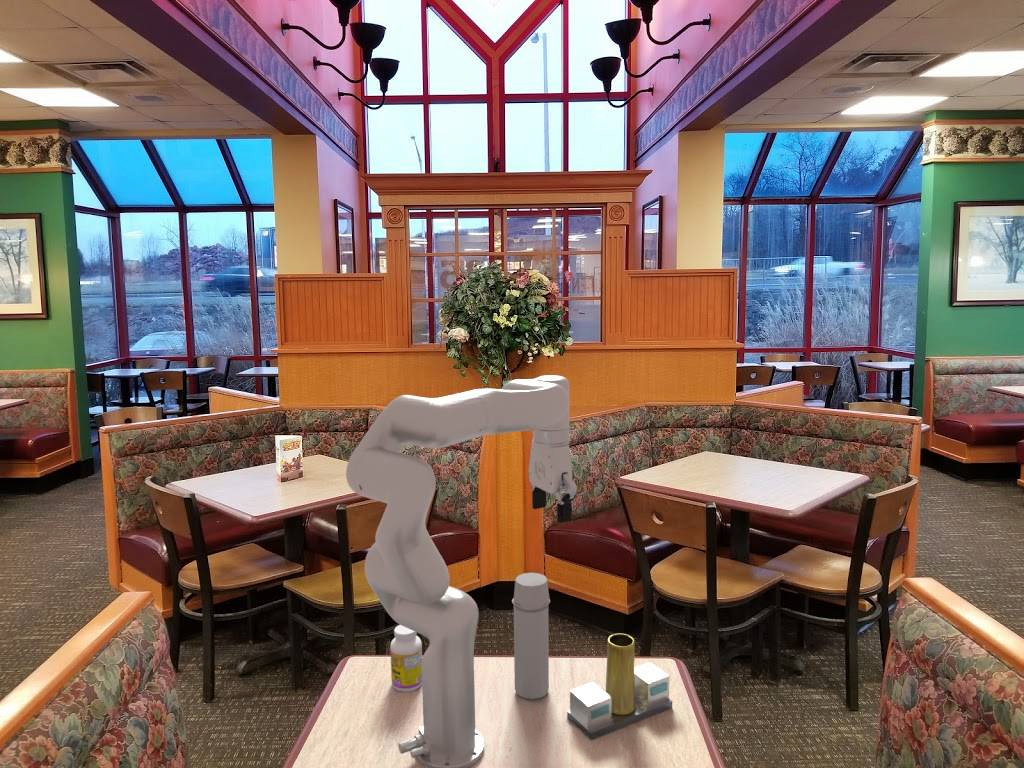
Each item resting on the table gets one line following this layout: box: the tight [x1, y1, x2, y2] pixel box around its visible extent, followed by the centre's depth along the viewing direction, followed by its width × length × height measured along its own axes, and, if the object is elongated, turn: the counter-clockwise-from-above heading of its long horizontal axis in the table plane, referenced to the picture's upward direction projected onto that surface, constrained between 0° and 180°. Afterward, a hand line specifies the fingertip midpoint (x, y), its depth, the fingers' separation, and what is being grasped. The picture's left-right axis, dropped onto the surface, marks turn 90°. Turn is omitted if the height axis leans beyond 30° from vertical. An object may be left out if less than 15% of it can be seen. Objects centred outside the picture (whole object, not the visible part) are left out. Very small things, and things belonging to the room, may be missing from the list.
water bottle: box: [511, 572, 551, 700], centre depth 152 cm, size 9×8×25 cm
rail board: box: [566, 661, 673, 741], centre depth 145 cm, size 20×8×6 cm, turn 119°
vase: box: [605, 633, 636, 715], centre depth 144 cm, size 6×6×14 cm
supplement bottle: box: [389, 624, 423, 693], centre depth 156 cm, size 7×7×13 cm
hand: (551, 514), depth 154 cm, fingers open, 9 cm apart
